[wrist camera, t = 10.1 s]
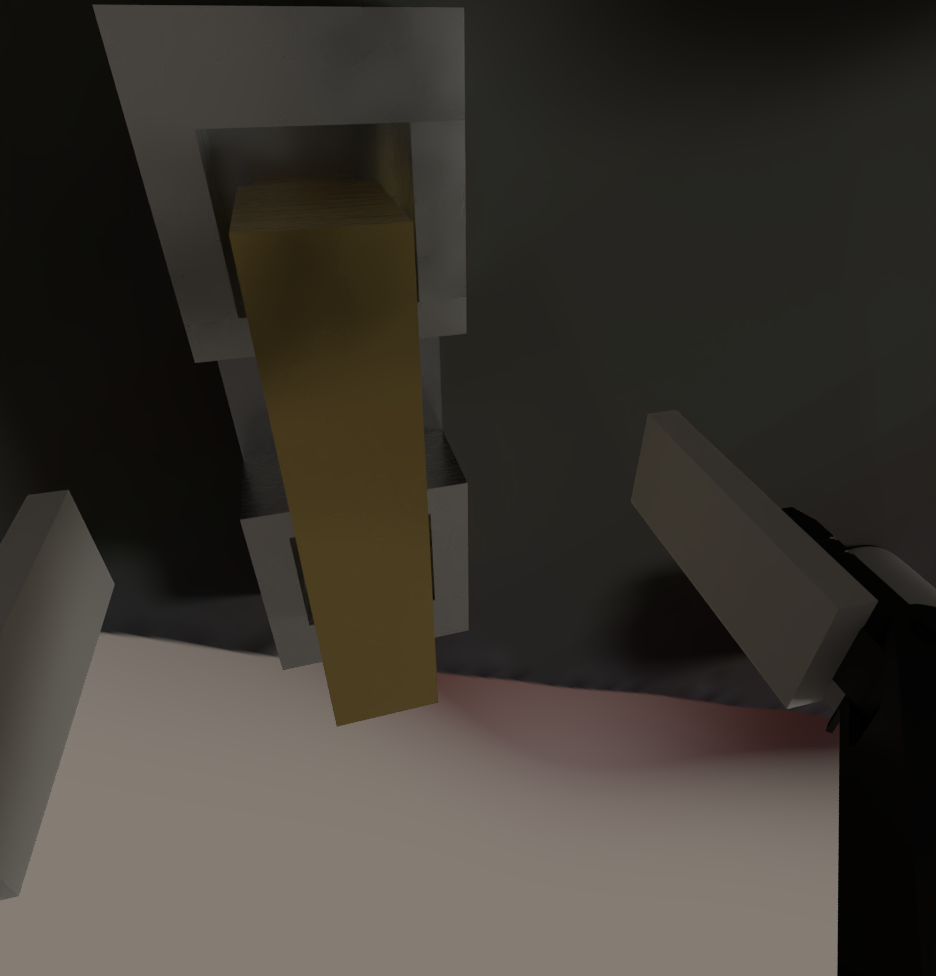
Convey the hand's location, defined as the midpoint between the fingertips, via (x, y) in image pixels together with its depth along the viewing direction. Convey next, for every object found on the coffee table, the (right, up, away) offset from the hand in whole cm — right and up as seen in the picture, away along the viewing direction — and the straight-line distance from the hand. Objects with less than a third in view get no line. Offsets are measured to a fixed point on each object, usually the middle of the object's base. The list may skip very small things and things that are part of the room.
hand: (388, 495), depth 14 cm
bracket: (-3, +4, +6) cm, 8 cm away
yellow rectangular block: (-2, +3, +5) cm, 6 cm away
